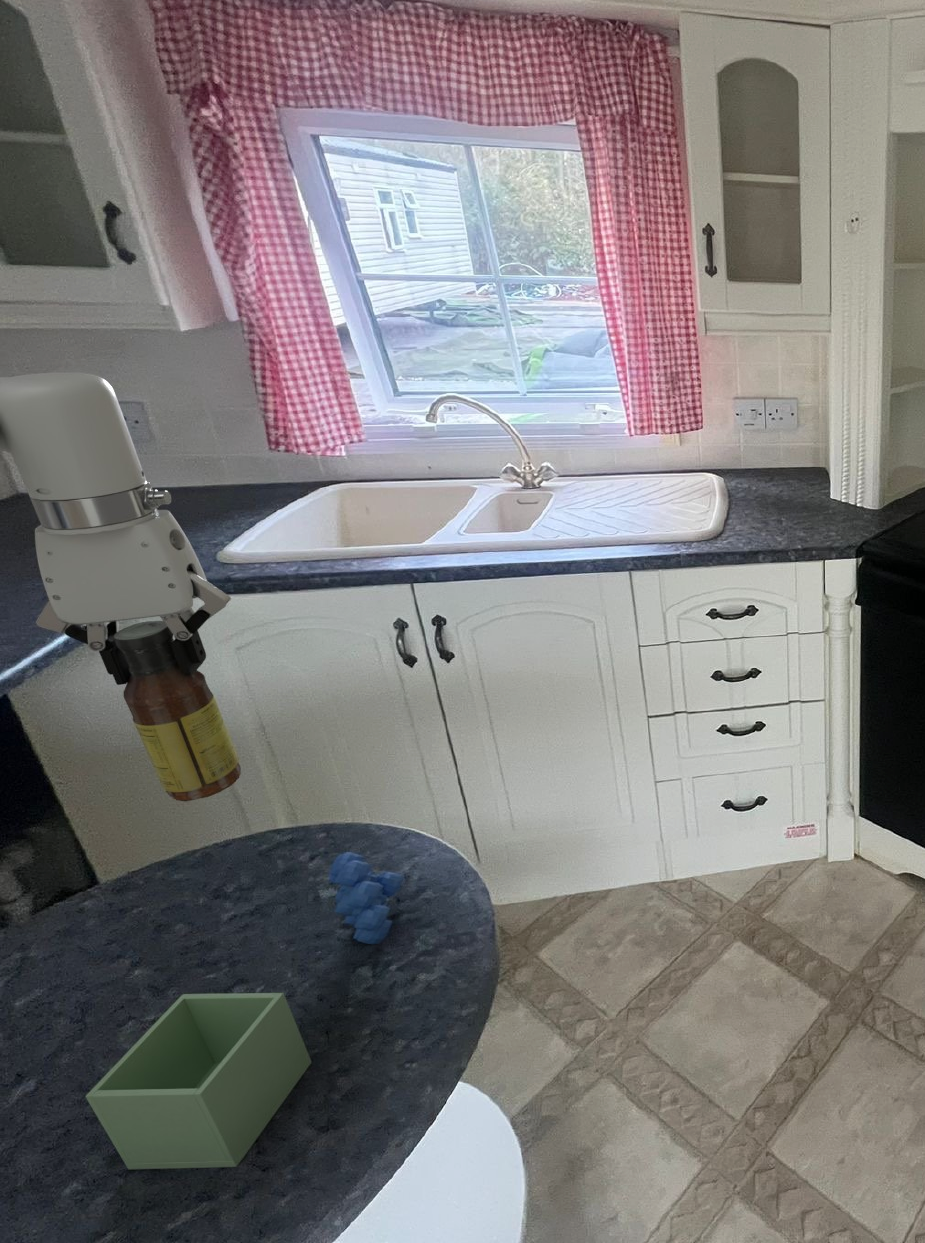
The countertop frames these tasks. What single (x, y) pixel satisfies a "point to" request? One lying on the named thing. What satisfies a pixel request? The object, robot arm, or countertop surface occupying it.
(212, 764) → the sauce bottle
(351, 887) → the grapes
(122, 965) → the countertop surface
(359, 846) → the countertop surface
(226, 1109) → the bin
